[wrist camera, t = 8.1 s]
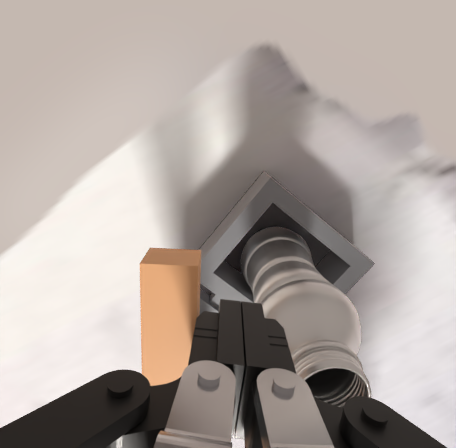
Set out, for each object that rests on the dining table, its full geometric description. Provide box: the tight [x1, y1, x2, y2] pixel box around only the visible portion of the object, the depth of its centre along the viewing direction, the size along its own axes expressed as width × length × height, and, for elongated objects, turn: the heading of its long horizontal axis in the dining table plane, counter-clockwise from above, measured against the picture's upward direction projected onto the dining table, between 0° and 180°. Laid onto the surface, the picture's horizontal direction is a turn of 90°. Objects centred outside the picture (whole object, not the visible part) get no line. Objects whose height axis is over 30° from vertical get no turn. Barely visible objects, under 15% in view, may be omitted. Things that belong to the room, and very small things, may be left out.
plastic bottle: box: [240, 227, 371, 408], centre depth 25 cm, size 6×7×20 cm
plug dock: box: [199, 171, 375, 315], centre depth 26 cm, size 12×22×21 cm, turn 141°
